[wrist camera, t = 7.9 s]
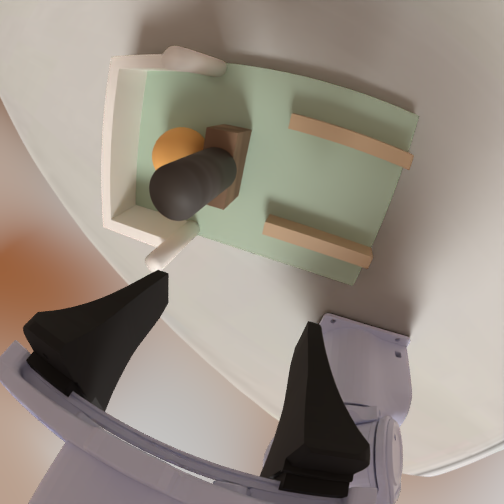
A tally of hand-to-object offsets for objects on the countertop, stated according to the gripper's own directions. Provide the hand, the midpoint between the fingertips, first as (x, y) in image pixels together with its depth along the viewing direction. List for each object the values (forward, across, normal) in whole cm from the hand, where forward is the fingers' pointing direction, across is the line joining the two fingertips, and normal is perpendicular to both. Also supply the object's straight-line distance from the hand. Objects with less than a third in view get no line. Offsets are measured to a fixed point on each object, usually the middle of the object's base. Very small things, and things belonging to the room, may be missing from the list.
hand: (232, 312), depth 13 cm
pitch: (+10, +2, -4) cm, 12 cm away
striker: (+9, +4, -4) cm, 11 cm away
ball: (+8, +7, -4) cm, 11 cm away
